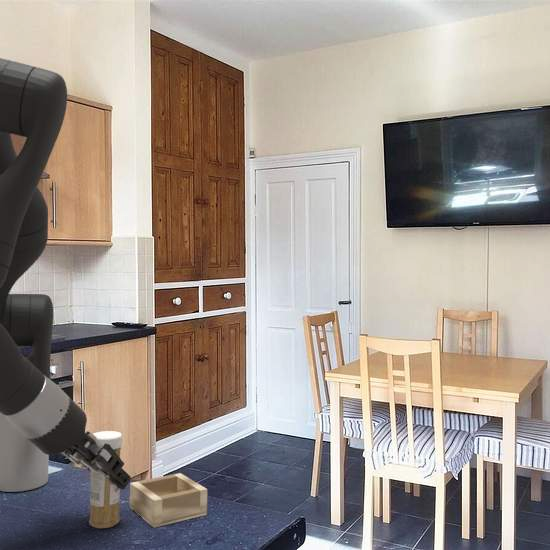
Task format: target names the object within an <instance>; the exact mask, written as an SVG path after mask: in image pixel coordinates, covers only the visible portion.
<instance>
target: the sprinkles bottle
mask: <svg viewBox="0 0 550 550" xmlns="http://www.w3.org/2000/svg"><path fill="white" fill-rule="evenodd" d="M92 434H93V435H94V436H95V437H96V438H97V441H99V442H100V443H101V444H102V445H104V444H105V443H106V444H109V445H110V446H111V447H112V449H113V450H114V451H115V452H116V454H117V455H118V456H119V457H120V458H121V449H122V446H123V435H122V433H121V432H119V431H116V430H115V431H114V430H104V431H102V430H101V431H97V432H94V433H92ZM94 461H95V459H94V460H93V461H91V463H94ZM89 473H90V474H89V483H90V485H89V504H90V506H89V508H90V509H89V510H90V511H89V513H90V514H89V521H88V524H89V526H91V527H93V528H95V529H108V528H112V527H114V526H117V525H118V524H119V522H120V521H121V518H120V499H121V489H120V488H118V487H117V486H116V485H115V484H114V483H113V482H111V481H110V480H109V479H108V478H106V477H104V475H103V474H102V473H100V472H99V471H98V470H97V471H94V470H91V471H90V472H89Z"/></svg>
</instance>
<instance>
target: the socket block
mask: <svg viewBox="0 0 550 550" xmlns="http://www.w3.org/2000/svg"><path fill="white" fill-rule="evenodd" d="M129 507H130V508H131V509H132V510H131V509H130V508H129V509H130V510H131V511H133V510H134V511H135V512H136V513H137V514H136V513H135V512H134V511H133V512H134V513H135V514H136V515H137V516H139V515H140V516H141V517H142V520H144V521H145V522H146V523H147V524H149V525H150V526H151V527H152V528H154V529H155V528H158V527H163V526H167V525H171V524H175V523H178V522H183V521H187V520H190V519H194V518H199V517H202V516H203V517H204V516H207V514H208V488H206V487H205V486H202V485H201V484H200V483H198V482H196V481H195V480H192V479H191V478H189V477H188V476H186V475H185V474H183V473H181V472H178V473H174V474H168V475H164V476H159V477H154V478H153V477H152V478H148V479H143V480H138V481H132V482H129ZM140 516H139V517H140ZM141 517H140V518H141Z"/></svg>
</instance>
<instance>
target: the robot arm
mask: <svg viewBox="0 0 550 550" xmlns="http://www.w3.org/2000/svg"><path fill="white" fill-rule="evenodd" d="M67 102H68V89H67V83H66V81H65V79H64V77H63V76H62V75H61V74H59V73H57V72H55V71H52V70H50V69H49V70H48V69H45V68H41V67H37V66H33V65H30V64H26V63H22V62H19V61H13V60H10V59H5V58H0V492H7V493H13V492H14V493H15V492H24V491H30V490H35V489H38V488H40V487H43V486H44V485H46V484H47V483H48V481H49V462H50V461H49V459H50V458H49V456H55V455H59V454H61V455H63V456H64V457H65V458H67V460H69V461H71V463H72V464H74V465H78V466H80V467H81V468H82V469H84V470H87V471H88V472H89V473H90V471H91V470H94V471H97V470H98V471H99V472H100V473H102V474H103V475H104V477H106V478H108V479H109V480H110V481H111V482H113V483H114V484H115V485H116V486H117V487H118V488H120V490H121V491H122V490H125V489H126V488H127V486H128V485H129V484H130V483H131V482H130V481H131V480H132V479H131V478H132V477H131V475H130V474H129V473H127V471H125V470H124V468H123V467H124V465H125V462H124V461H123V460H122V458H121V456H120V457H119V456H118V455H117V454H116V452H115V451H114V450H113V449H112V447H111V446H110V445H109V444H106V443H105V444H104V445H102V444H101V443H100V442H99V441H97V438H96V437H95V436H94V435H93V434H94V433H91V432H90V431H89V430H88V431H86V427H87V421H88V418H87V414H86V412H85V411H84V410H83V409H82V408H81V407H80V406H79V405H78V404H77V403H76V402H75V401H74V400H73V399H72V398H71V397H70V396H69V395H68V394H67V393H66V392H65V391H64V390H62V388H61V387H59V386H58V385H57V384H56V383H55V382H54V381H53V380H51V351H52V339H53V326H54V305H53V304H54V303H53V301H52V299H51V297H50V296H49V295H47V294H43V293H11V290H12V288H13V287H14V285H15V284H16V283H17V282H18V280H19V279H20V278H21V277H22V276H23V275H24V274H26V272H27V271H29V269H30V268H32V266H33V265H34V264H35V262H36V261H37V260H39V259H40V257H41V256H42V254H43V253H44V251H45V250H46V246H47V243H48V238H49V237H48V231H49V208H48V205H47V202H46V199H45V198H44V195H43V193H42V192H41V190H40V189H39V187H38V185H39V183H40V180H41V179H42V176H43V173H44V171H45V169H46V166H47V164H48V162H49V158H50V157H51V155H52V152H53V149H54V147H55V144H56V141H57V139H58V137H59V135H60V131H61V130H62V126H63V124H64V120H65V116H66V112H67V105H68V103H67ZM11 134H12V135H15V136H19V137H24V138H26V139H25V141H24V144H23V147H22V148H21V150H20V152H19V153H18V155H17V153H16V150H15V147H14V145H13V140H12V135H11ZM20 347H24V348H25V347H26V348H27V347H31V348H32V349H31V351H30V353H29V354H27V356H24V355H23V353H22V352H21V349H20ZM94 459H95V461H94V463H91V461H93V460H94Z"/></svg>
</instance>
